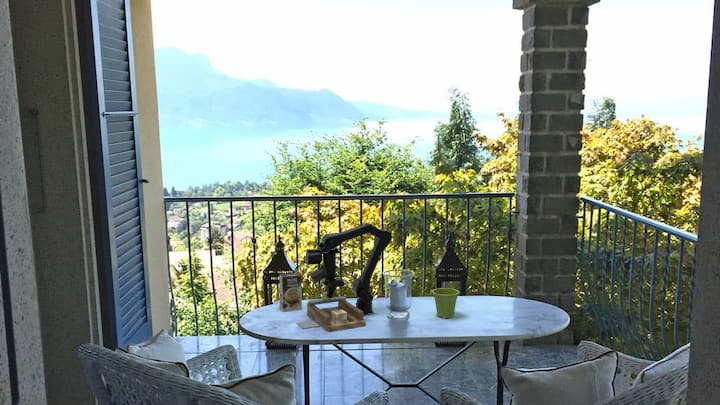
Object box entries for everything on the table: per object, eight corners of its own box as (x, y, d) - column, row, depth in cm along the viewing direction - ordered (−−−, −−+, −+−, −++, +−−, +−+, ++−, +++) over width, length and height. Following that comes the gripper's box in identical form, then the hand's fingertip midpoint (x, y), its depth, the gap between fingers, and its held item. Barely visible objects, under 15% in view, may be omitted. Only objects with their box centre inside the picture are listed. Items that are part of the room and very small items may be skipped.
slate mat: (313, 321, 254) (313, 320, 254) (319, 326, 247) (319, 325, 247) (296, 323, 251) (296, 322, 251) (302, 329, 244) (302, 328, 244)
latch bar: (343, 298, 268) (343, 289, 267) (346, 300, 265) (346, 291, 264) (308, 303, 260) (308, 294, 260) (310, 305, 258) (310, 296, 257)
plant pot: (457, 312, 266) (458, 288, 265) (459, 320, 254) (460, 295, 253) (431, 311, 267) (431, 287, 266) (432, 320, 256) (432, 294, 254)
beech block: (342, 320, 255) (342, 309, 254) (346, 324, 251) (346, 312, 250) (331, 322, 253) (331, 311, 252) (336, 325, 248) (336, 314, 248)
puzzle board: (342, 309, 270) (342, 298, 269) (365, 325, 248) (365, 313, 247) (307, 315, 262) (307, 303, 262) (328, 331, 240) (328, 318, 240)
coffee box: (282, 311, 267) (282, 277, 265) (279, 308, 273) (278, 273, 271) (302, 309, 270) (301, 275, 268) (298, 305, 276) (297, 272, 274)
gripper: (304, 261, 263) (305, 295, 265) (320, 269, 246) (320, 306, 248) (327, 258, 268) (328, 292, 270) (344, 267, 251) (344, 302, 253)
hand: (329, 298), depth 260 cm, fingers closed
